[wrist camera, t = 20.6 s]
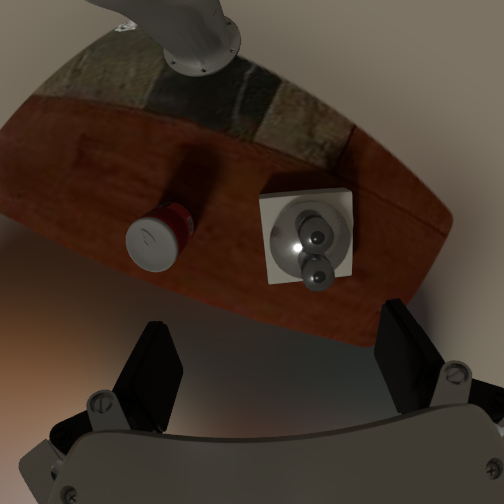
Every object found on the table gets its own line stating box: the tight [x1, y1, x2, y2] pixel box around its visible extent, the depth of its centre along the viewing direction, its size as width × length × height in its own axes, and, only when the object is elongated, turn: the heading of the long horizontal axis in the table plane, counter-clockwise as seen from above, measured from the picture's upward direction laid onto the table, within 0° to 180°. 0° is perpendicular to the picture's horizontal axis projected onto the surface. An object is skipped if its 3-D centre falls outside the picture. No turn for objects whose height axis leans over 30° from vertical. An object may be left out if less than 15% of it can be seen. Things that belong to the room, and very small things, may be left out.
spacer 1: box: [295, 209, 334, 254], centre depth 36 cm, size 4×4×6 cm
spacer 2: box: [298, 249, 335, 291], centre depth 38 cm, size 4×4×6 cm
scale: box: [259, 187, 353, 284], centre depth 43 cm, size 14×14×4 cm
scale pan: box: [269, 201, 350, 279], centre depth 40 cm, size 12×12×1 cm
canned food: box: [126, 202, 194, 272], centre depth 40 cm, size 8×8×11 cm
